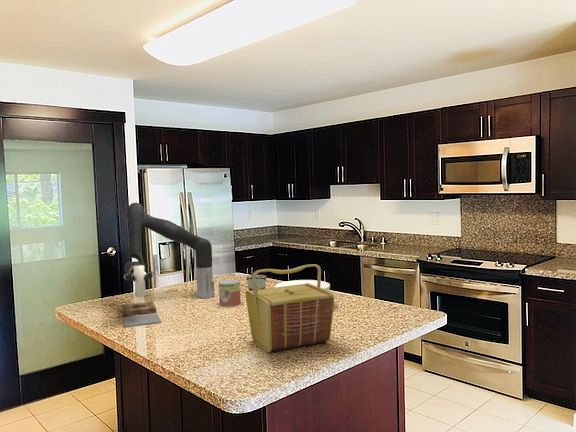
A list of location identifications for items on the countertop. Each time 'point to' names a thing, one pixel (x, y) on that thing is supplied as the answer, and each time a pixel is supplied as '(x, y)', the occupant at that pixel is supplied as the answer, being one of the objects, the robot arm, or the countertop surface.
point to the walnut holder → (138, 309)
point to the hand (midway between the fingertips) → (140, 278)
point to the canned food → (229, 293)
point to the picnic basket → (289, 313)
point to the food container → (259, 282)
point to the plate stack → (297, 282)
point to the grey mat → (141, 320)
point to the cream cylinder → (139, 280)
